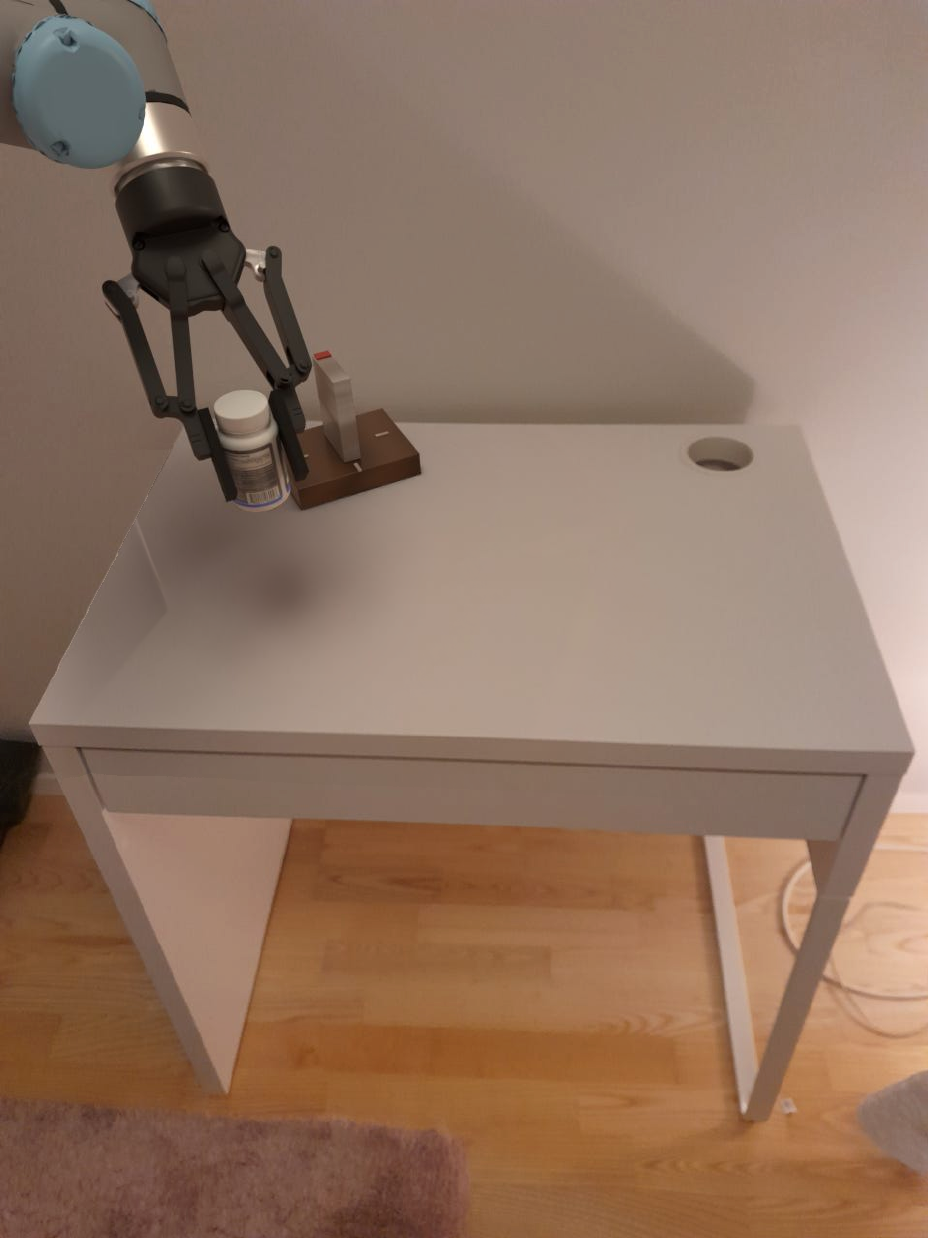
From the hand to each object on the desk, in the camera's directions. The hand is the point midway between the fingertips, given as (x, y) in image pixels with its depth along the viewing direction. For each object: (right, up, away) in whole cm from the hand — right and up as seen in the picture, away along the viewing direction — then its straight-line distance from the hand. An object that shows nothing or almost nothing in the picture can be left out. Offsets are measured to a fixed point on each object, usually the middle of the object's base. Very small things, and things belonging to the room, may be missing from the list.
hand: (267, 486), depth 70 cm
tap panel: (+2, +6, +28) cm, 29 cm away
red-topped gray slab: (+2, +8, +26) cm, 28 cm away
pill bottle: (-2, 0, +5) cm, 5 cm away
